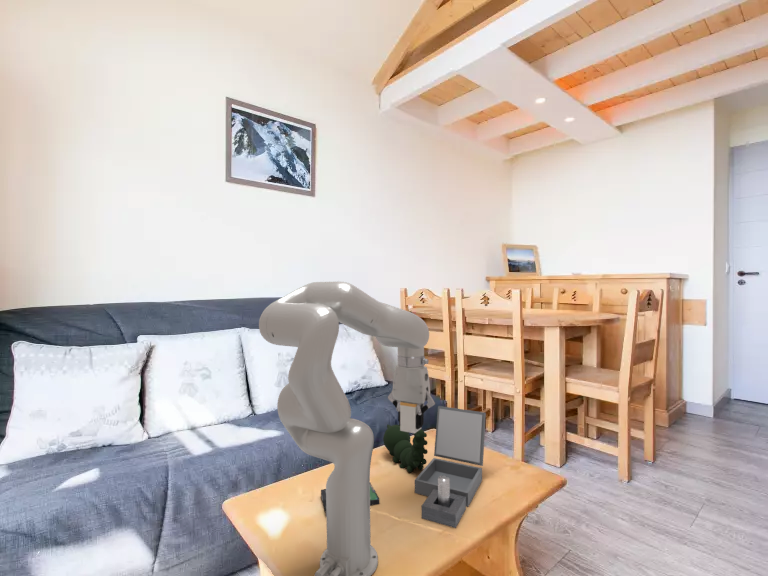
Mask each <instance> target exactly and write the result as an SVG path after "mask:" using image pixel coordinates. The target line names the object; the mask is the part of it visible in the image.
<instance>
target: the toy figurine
mask: <svg viewBox="0 0 768 576" xmlns="http://www.w3.org/2000/svg"><path fill="white" fill-rule="evenodd" d="M386 428H387V429H386V430H385V432H384V434H383V438H382V440H383V445H384V447H385V448H386V450H387V451H388V452H389V454H390V456H392V461H393V463H395V464H399V463H400V464H399V469H406V471H407V472H408V473H413V471H414V469H418V470H419V471H423V470H424V468H425V467H424V466H425V465H427V459H426V458H425V455H426V454H428V453H429V452H428V450H427V449H426V448H425V446H427V445H428V441H427V440H426V439H425V438H426V437H427V436H428V434H427V432H425V431H424V430H423V429H422V428H421V429H420V430H419V431H417V432H416V433H413V438H412V443H411V435H410V434H411V433H410V432H405V431H400V426H399V424H392V425H390V424H387V425H386Z"/></svg>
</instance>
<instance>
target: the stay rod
mask: <svg viewBox="0 0 768 576" xmlns="http://www.w3.org/2000/svg"><path fill="white" fill-rule="evenodd" d="M438 505H441V506H444V507H448V508H450V479H449V477H447V476H439V477H438Z"/></svg>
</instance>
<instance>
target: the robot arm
mask: <svg viewBox="0 0 768 576" xmlns="http://www.w3.org/2000/svg"><path fill="white" fill-rule="evenodd" d="M340 324H342V325H344V326H346V327H349V328H351V329H352V330H355V332H356V331H357V332H358V333H360V334H362V335H367V336H371V337H375V339H376V341H377V342H378V344H380V345H382V346H385V347H391V348H397V365H395V366H394V367H395V369H394V372H393V373H394V374H393V381H392V390H391V392H390V393H389V395H388V396H387V399H388V400H389V401H390V402H391V403H392V405H393V406H394V407H395V410H396V412H398V413H397V414H398V415H397V421H398V425H399V426H400V402H407V403H414V404H416V408H417V415H416V429H419V428H421V429H422V427H423V426H424V417H425V415H424V414H425V412H427V411H428V410H429V409H430V408H432V407H433V406H435V405H436V402H435V400H434V399H433V397H432V395H431V385H430V377H429V371H428V367H427V366H425V365H428V364H429V362H430V361H429V359H428V358H426V356H425V347H426V346H427V344H428V342H429V339H430V332H429V331H430V330H429V326H428V325H427V323H426V321H425V320H423V319H422V318H421V317H420V316H419V315H417V314H415V313H413V312H410V311H409V310H406V309H402V308H399V307H396V306H393V305H390V304H387V303H383V302H381V301H378V300H376V298H374V297H372V296H371V295H368V293H366V292H364V291H363V290H361V289H360V288H359V287H357V286H355V285H353V284H352V283H349V282H346V281H315V282H310V283H307V284H304V285H302V286H301V287H299V288H297V289H295V290H293V291H291V292H290V293H287V294H286V295H284V296H283V297H279V299H277V300H274V301H273V302H271V303H270V304H269V305H268V306H267V307H265V308H264V310H263V311H262V313H261V315H260V317H259V320H258V329H259V333H260V335H261V337H262V338H263V339H264V340H265V341H267V342H268V343H270V344H272V345H276V346H284V347H292V348H294V347H295V348H297V349H296V352H295V354H294V356H293V357H294V358H293V360H292V363H291V365H290V367H289V370H288V375H287V376H288V377H287V381H288V383H287V384H286V385H284V387H283V388H282V389H281V391H280V392H279V394H278V398H277V403H276V405H277V407H276V408H277V414H278V418H279V420H280V422H281V424H282V425H283V427H284V428H285V429H286V431H287V432H288V434H289V435H290V437H291V438H292V440H293V441H294V442H295V444H296V445H297V447H298V448H299V449H300V450H301V451H302V452H303V453H304V454H307V455H309V456H311V457H313V458H318V459H321V460H324V461H327V462H330V463H332V464H333V465H334V468H333V470H332V472H331V473H330V474H329V475H328V478H327V480H326V484H325V489H326V514H325V518H326V519H325V520H326V549H324V551H323V553H322V554H321V556H320V560H319V568H318V569H317V570H316V572H315V573H314V576H372V575H373V574H374V572H375V571H376V570H377V568H378V565H379V564H378V563H379V556H378V552H377V550H376V549H375V547H374V546H373V545H371V542H372V541H371V509H370V508H371V506H370V483H371V481H370V479H371V477H370V474H371V466H372V465H371V463H372V456H373V450H374V445H375V443H374V442H375V436H374V433H373V430H372V429H371V427H370V426H369V425H368V424H366V423H365V422H364V421H361V420H358V419H355V418H351V416H352V408H351V405H350V402H349V399H348V398H347V395H346V393H345V392H344V389H343V387H342V386H341V384H340V383H339V380H338V378H337V377H336V375H335V372H334V370H333V367H332V358H333V353H334V350H335V346H336V344H337V340H338V335H339V332H340ZM425 402H427V403H426V404H425Z"/></svg>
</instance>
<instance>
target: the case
mask: <svg viewBox="0 0 768 576" xmlns="http://www.w3.org/2000/svg"><path fill="white" fill-rule="evenodd" d="M439 476H447V477H449V479H450V493H452V494H456V495H460V496H464V497H466V508H469V507H470V505H471V502H472V500H473V499H474V498H475V497H474V496H475V495H476V493H477V492H478V490H479V488H480V486H481V483H482V482H483V468H482V467H478V466H473V465H468V464H464V463H459V462H455V461H450V460H447V459H446V460H445V459H440V458H437V457H433V458H432V459H431V460H430V462H429V463H428V464H426V466H425V467H424V468H423V469H422V470H421V472H420V473H419V474H418V475H417V477H416V478H415V479H414V494H417V495H422V496H426V497H428V496H429V495H430V493H431V492H432V491H433V489H436V490H438V477H439Z"/></svg>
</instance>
